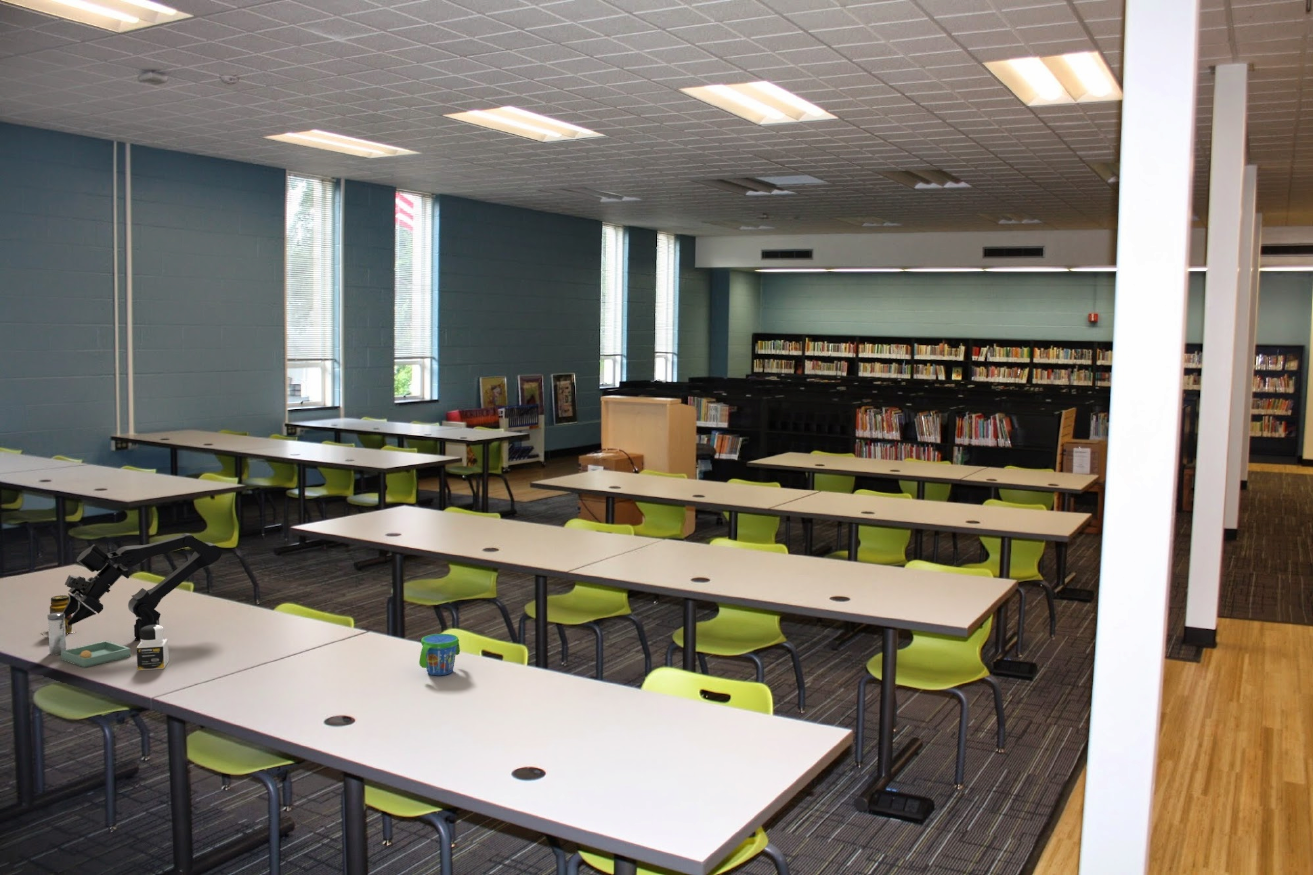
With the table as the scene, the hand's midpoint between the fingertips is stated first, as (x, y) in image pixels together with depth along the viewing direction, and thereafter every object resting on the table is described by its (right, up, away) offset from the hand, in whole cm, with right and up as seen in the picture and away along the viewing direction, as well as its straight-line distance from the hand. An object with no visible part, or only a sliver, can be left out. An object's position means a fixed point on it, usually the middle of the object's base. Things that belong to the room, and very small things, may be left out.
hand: (64, 621), depth 312 cm
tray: (+12, -10, -5) cm, 17 cm away
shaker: (-2, -10, -1) cm, 10 cm away
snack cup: (+118, -12, -15) cm, 120 cm away
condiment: (-14, -8, +20) cm, 26 cm away
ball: (+12, -8, -10) cm, 17 cm away
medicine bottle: (+33, -11, -12) cm, 37 cm away
